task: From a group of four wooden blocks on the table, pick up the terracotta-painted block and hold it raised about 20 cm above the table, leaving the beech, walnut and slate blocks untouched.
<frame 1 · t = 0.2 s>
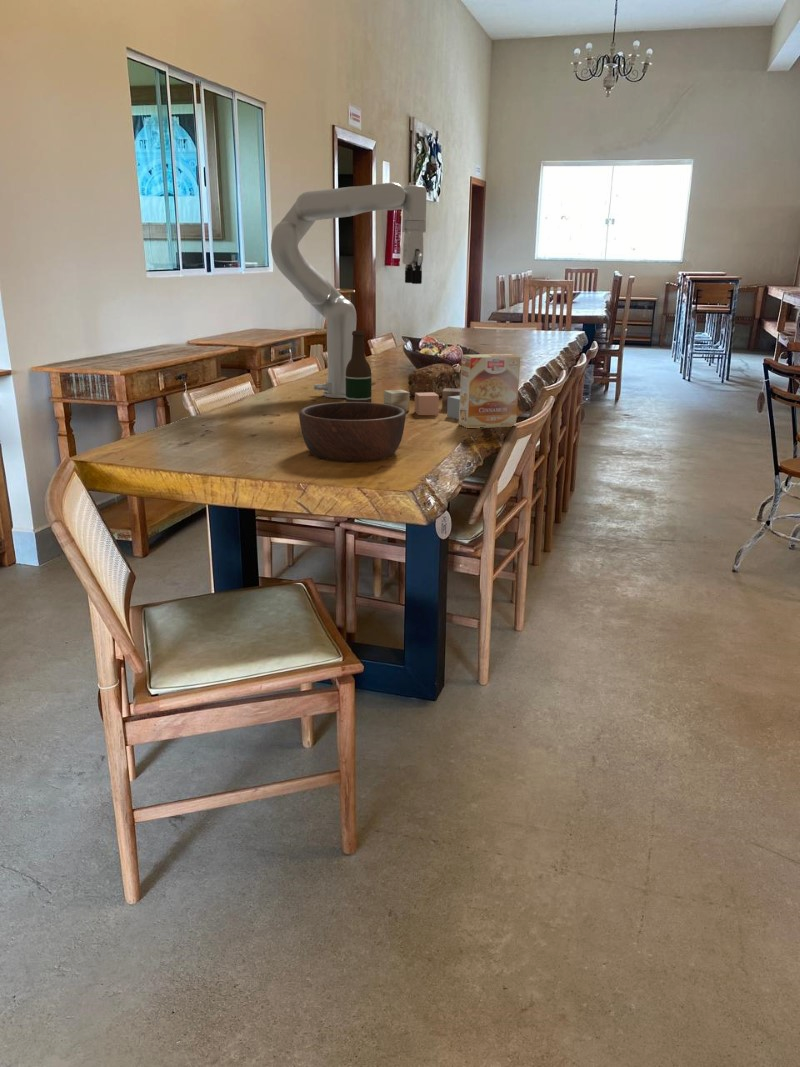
hand: (413, 283, 260), 37 cm above the table, tool pointing down, fingers open, 9 cm apart
beech block: (396, 411, 243), on the table
walnut block: (452, 409, 247), on the table
coffeecake box: (487, 426, 222), on the table
slate block: (461, 417, 234), on the table
bread: (434, 395, 274), on the table
beer bottle: (358, 413, 239), on the table
wooden bowl: (352, 454, 189), on the table
terracotta block: (426, 414, 239), on the table
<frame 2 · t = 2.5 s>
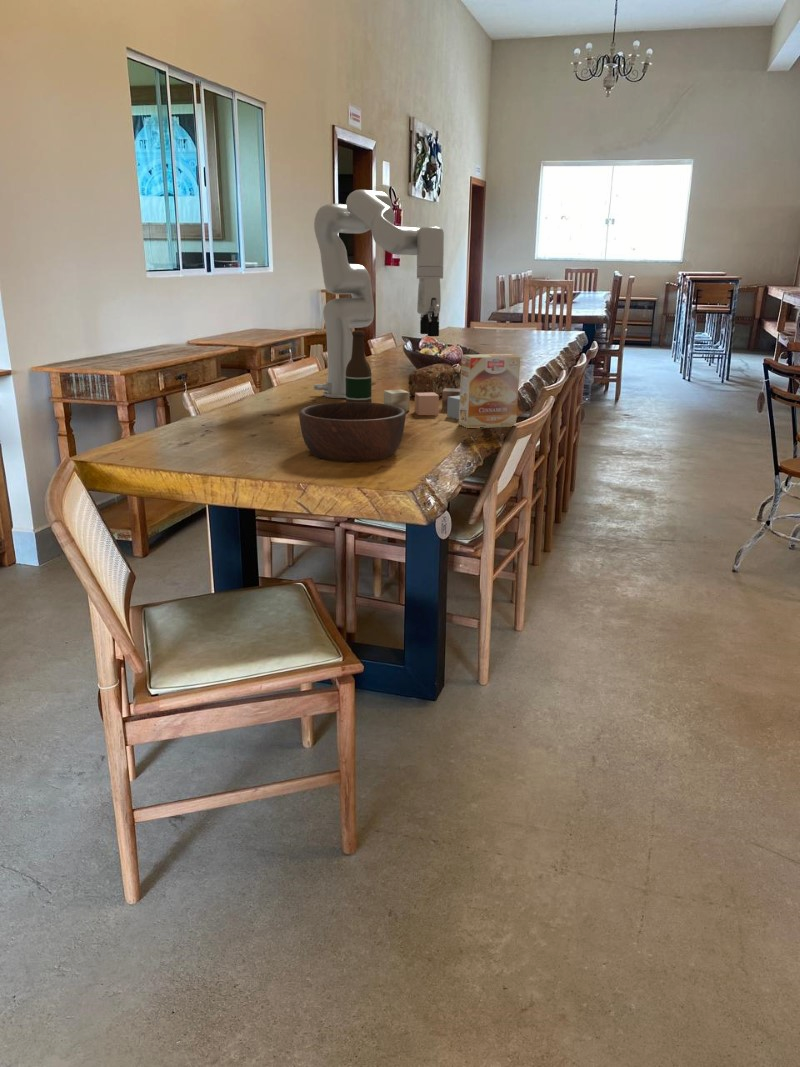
hand: (429, 335, 231), 23 cm above the table, tool pointing down, fingers open, 9 cm apart
nothing on the table moved.
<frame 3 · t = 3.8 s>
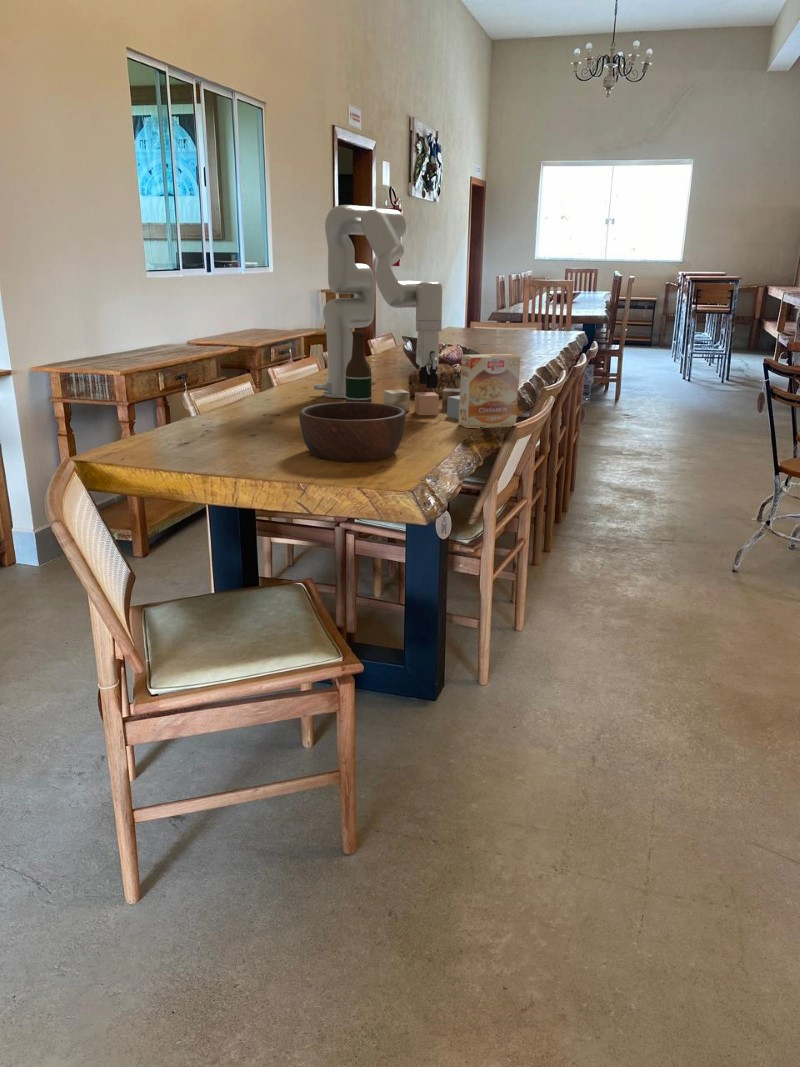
hand: (427, 385, 235), 8 cm above the table, tool pointing down, fingers open, 9 cm apart
nothing on the table moved.
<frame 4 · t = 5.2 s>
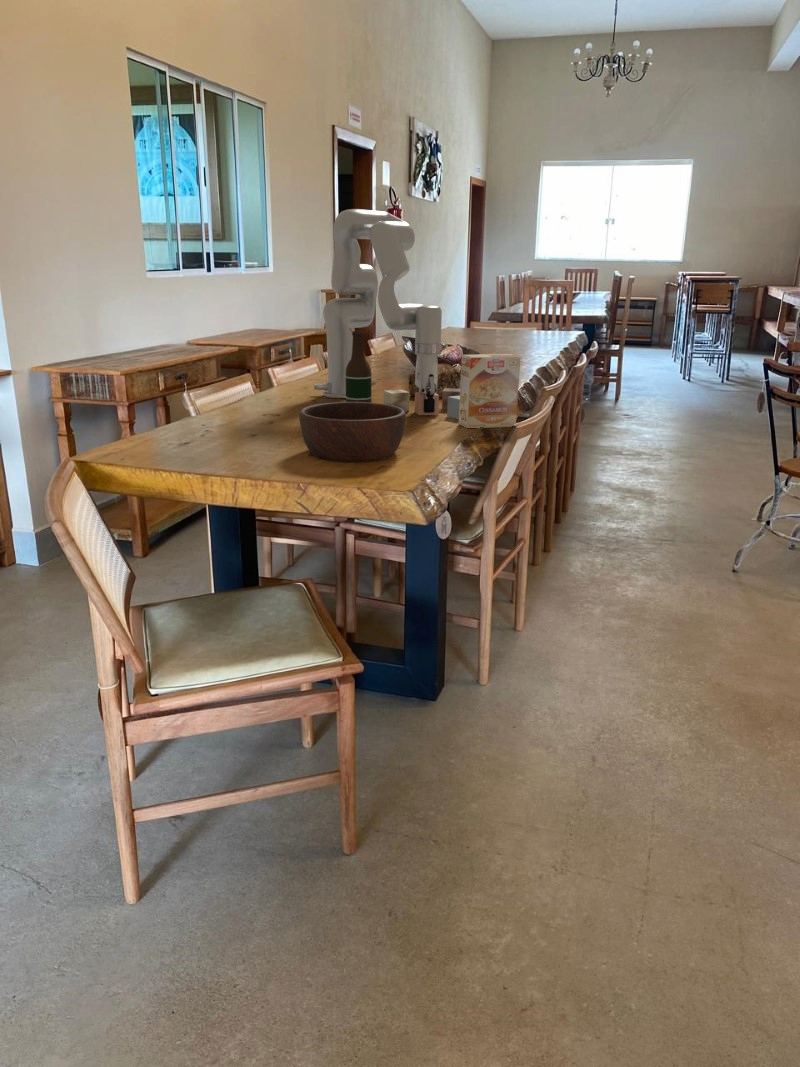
hand: (426, 409, 238), 1 cm above the table, tool pointing down, fingers closed on terracotta block, 6 cm apart
terracotta block: (426, 413, 239), on the table, touching gripper
everything else where it was.
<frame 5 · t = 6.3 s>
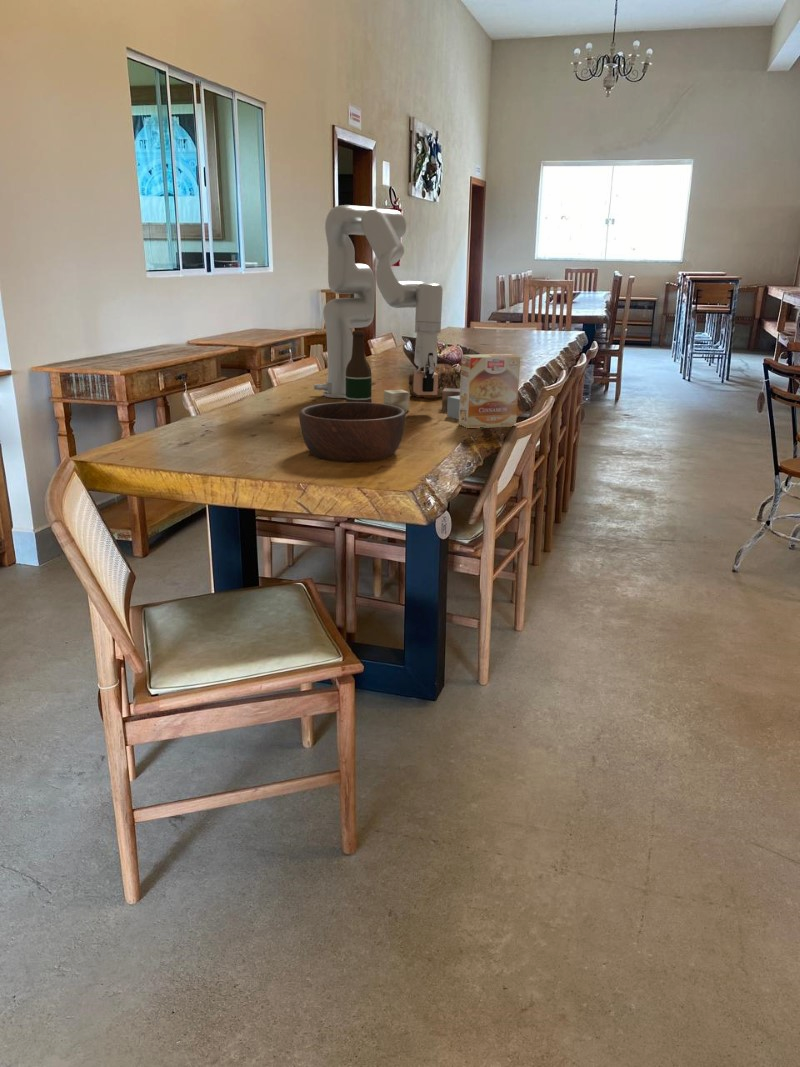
hand: (425, 388, 237), 7 cm above the table, tool pointing down, fingers closed on terracotta block, 6 cm apart
terracotta block: (425, 393, 237), point 6 cm above the table, touching gripper
everything else where it was.
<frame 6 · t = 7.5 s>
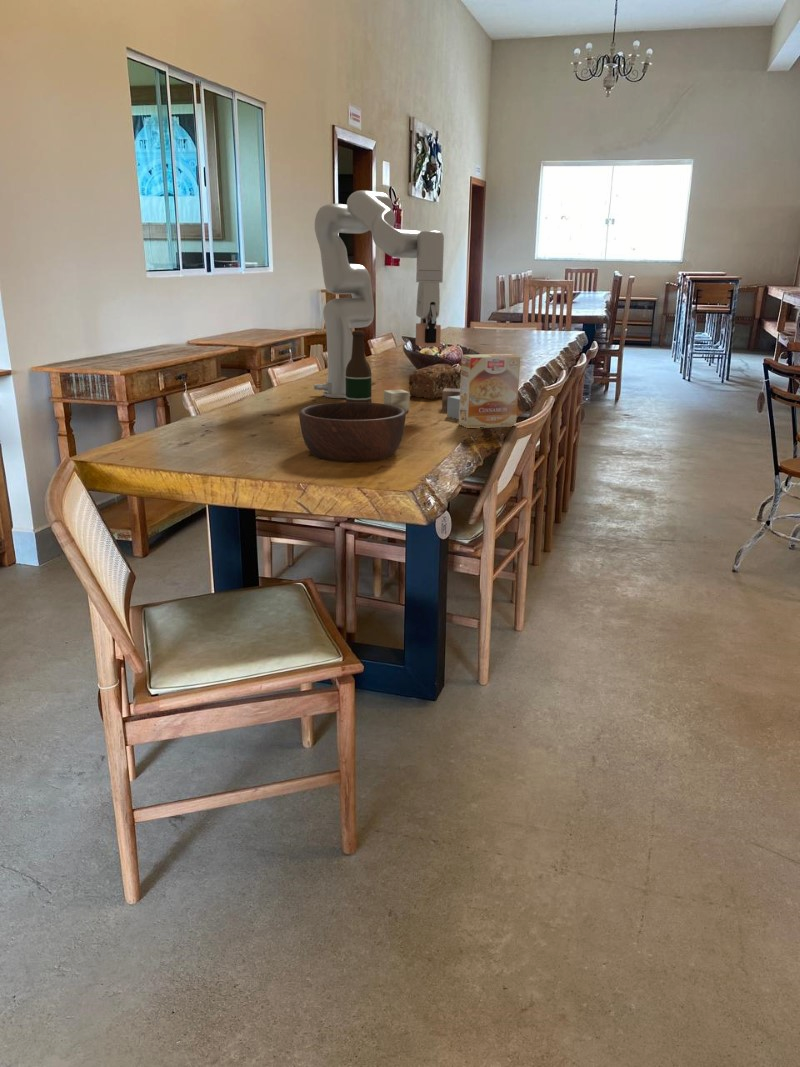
hand: (427, 341, 232), 21 cm above the table, tool pointing down, fingers closed on terracotta block, 6 cm apart
terracotta block: (427, 345, 232), point 20 cm above the table, touching gripper
everything else where it was.
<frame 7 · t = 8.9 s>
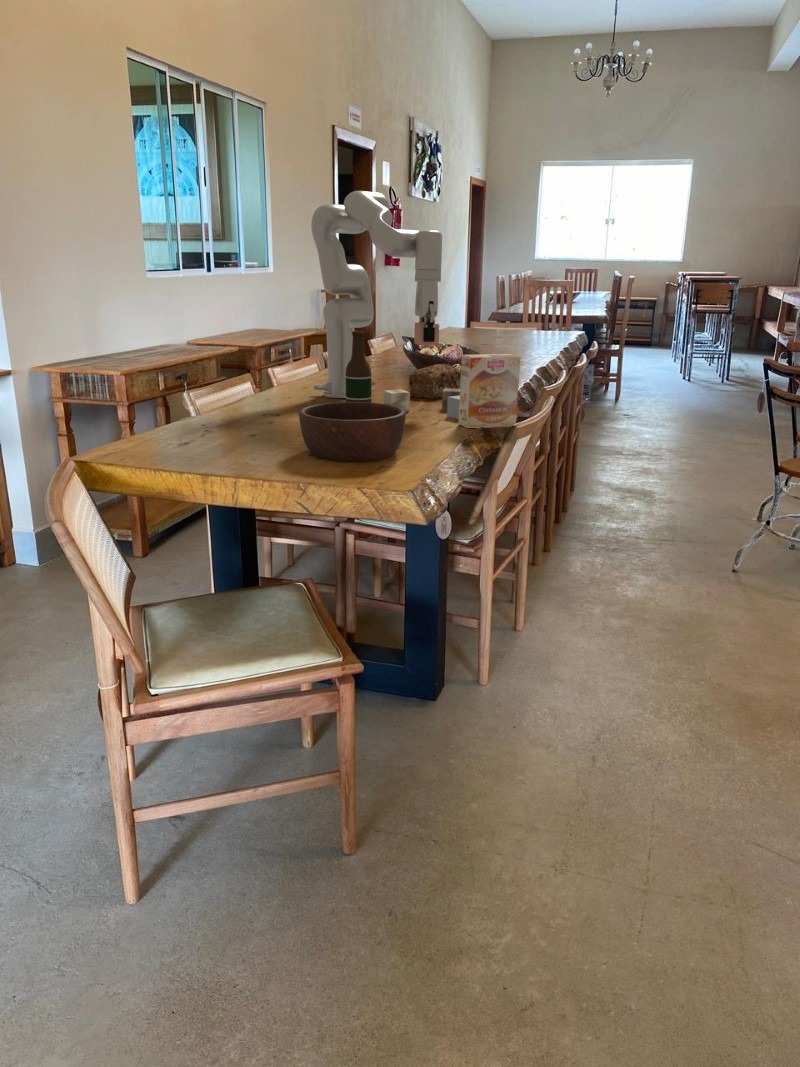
hand: (426, 340, 233), 21 cm above the table, tool pointing down, fingers closed on terracotta block, 6 cm apart
terracotta block: (426, 344, 234), point 20 cm above the table, touching gripper
everything else where it was.
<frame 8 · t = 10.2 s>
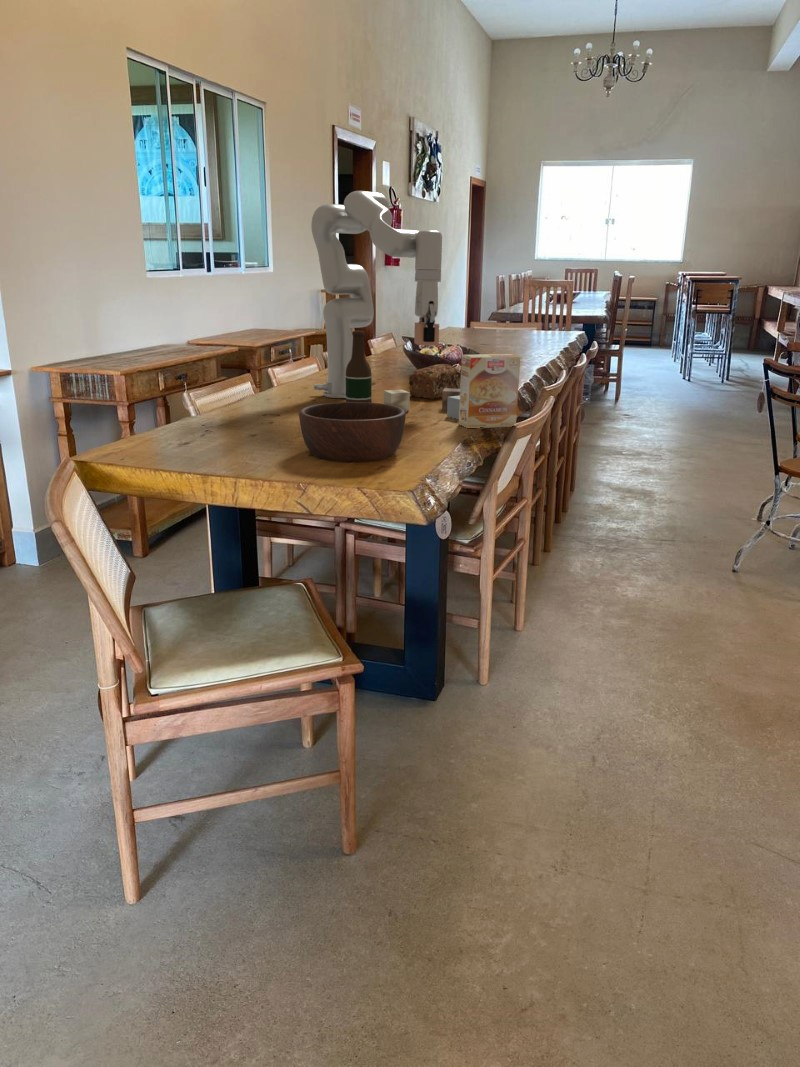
hand: (426, 340, 233), 21 cm above the table, tool pointing down, fingers closed on terracotta block, 6 cm apart
terracotta block: (426, 344, 234), point 20 cm above the table, touching gripper
at the end: the gripper is holding terracotta block; terracotta block point 20.3 cm above the table; slate block moved 0.1 cm from its start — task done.
